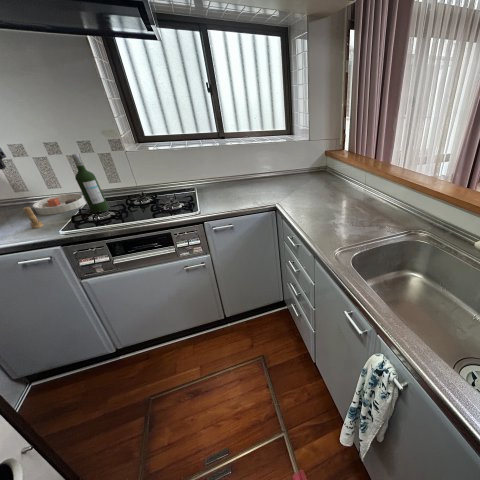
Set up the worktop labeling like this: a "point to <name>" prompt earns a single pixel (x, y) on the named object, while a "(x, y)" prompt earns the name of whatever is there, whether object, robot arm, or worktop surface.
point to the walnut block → (70, 201)
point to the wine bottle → (89, 187)
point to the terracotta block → (53, 202)
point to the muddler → (33, 218)
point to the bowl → (45, 209)
